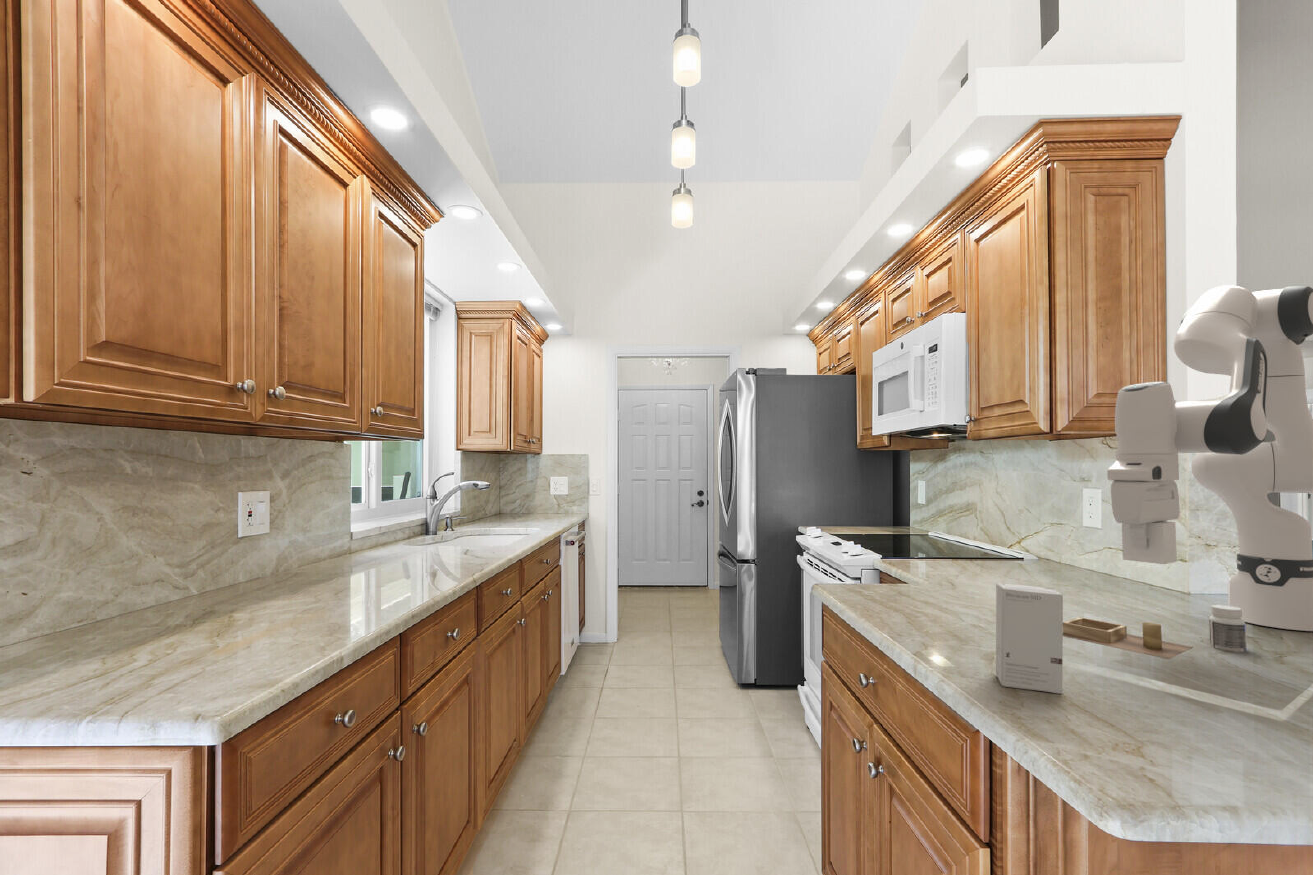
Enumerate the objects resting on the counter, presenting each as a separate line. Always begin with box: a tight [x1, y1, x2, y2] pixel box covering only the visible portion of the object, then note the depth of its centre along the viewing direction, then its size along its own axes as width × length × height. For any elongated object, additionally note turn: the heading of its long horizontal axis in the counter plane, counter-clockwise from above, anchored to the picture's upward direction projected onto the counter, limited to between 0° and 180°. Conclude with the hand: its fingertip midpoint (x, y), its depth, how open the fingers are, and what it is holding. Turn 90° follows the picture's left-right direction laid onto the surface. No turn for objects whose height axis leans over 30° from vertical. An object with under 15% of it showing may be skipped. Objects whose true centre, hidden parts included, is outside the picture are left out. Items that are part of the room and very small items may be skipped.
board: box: [1063, 616, 1193, 660], centre depth 111 cm, size 12×17×5 cm
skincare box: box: [995, 582, 1064, 694], centre depth 92 cm, size 8×6×15 cm
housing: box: [1121, 521, 1178, 565], centre depth 108 cm, size 6×6×7 cm
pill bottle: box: [1208, 604, 1247, 653], centre depth 107 cm, size 5×5×8 cm
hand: (1149, 546), depth 108 cm, fingers closed on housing, 6 cm apart
